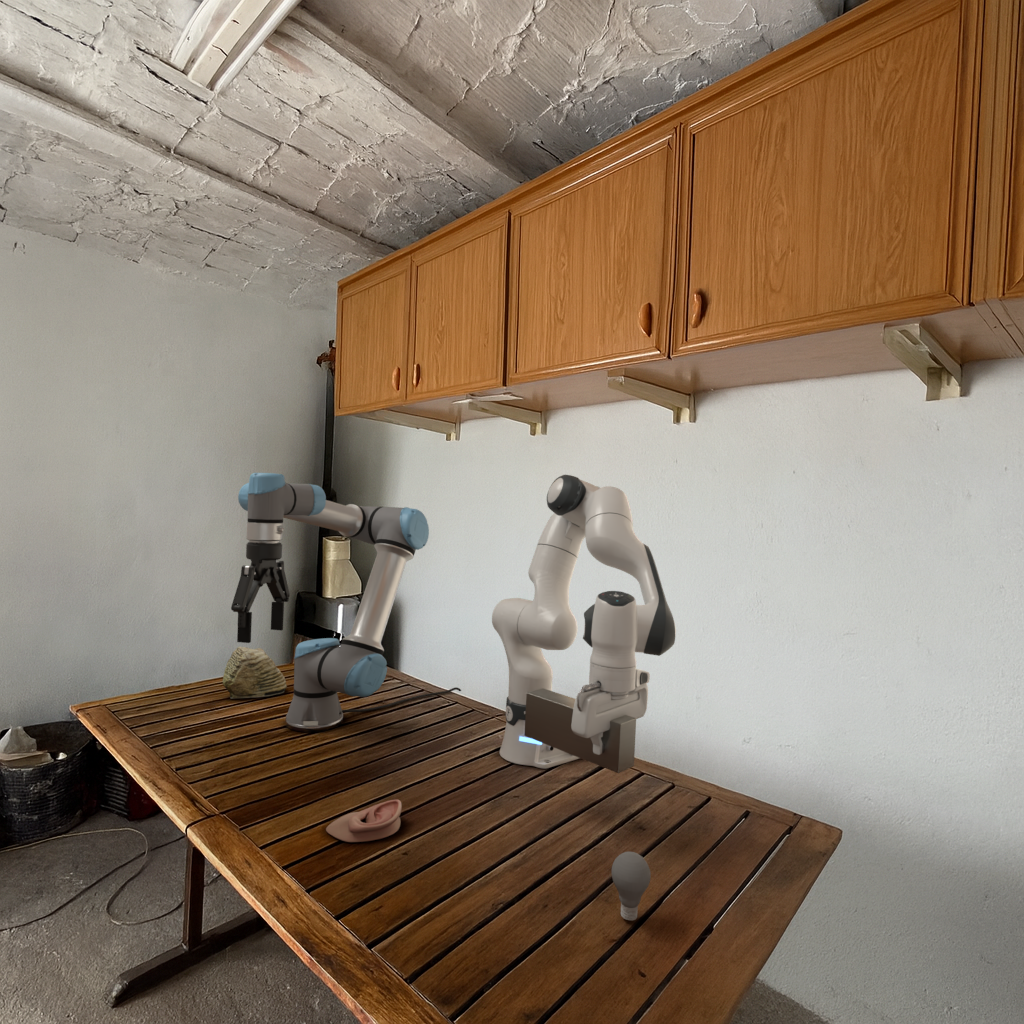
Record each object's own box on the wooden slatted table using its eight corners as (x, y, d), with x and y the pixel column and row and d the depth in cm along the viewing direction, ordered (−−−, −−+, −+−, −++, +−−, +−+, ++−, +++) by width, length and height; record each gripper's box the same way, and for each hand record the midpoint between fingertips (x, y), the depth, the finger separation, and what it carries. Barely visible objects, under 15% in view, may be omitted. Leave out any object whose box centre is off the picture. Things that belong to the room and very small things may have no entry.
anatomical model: (318, 816, 117) (346, 789, 129) (317, 837, 118) (346, 808, 129) (385, 827, 115) (408, 798, 126) (384, 848, 115) (407, 818, 126)
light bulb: (605, 905, 101) (608, 843, 101) (642, 905, 102) (645, 843, 102) (614, 931, 95) (617, 865, 95) (653, 930, 96) (656, 865, 96)
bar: (524, 735, 134) (526, 692, 134) (540, 730, 137) (542, 688, 137) (618, 773, 117) (620, 724, 117) (634, 766, 121) (636, 718, 121)
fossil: (218, 695, 195) (220, 647, 195) (278, 685, 208) (279, 640, 207) (228, 703, 189) (230, 653, 188) (289, 692, 201) (290, 645, 201)
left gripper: (248, 546, 129) (245, 649, 130) (306, 539, 154) (303, 626, 154) (215, 544, 130) (211, 646, 131) (277, 537, 155) (274, 624, 155)
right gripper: (592, 691, 112) (589, 768, 112) (654, 672, 127) (651, 741, 127) (565, 683, 116) (561, 757, 117) (628, 665, 131) (624, 732, 131)
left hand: (261, 635), depth 143 cm, fingers open, 13 cm apart
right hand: (608, 748), depth 122 cm, fingers closed on bar, 5 cm apart
